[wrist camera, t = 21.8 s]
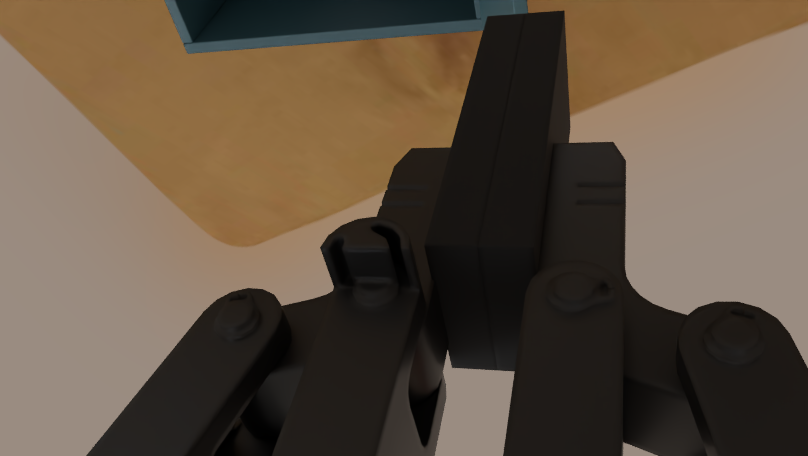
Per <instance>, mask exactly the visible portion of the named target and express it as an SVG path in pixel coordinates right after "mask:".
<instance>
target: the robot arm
mask: <svg viewBox="0 0 808 456" xmlns="http://www.w3.org/2000/svg"><path fill="white" fill-rule="evenodd" d="M569 134H570V112H569V92H568V73H567V54H566V34H565V15H564V11H553V12H539V13H525V14H510V15H496V16H487V19H486V23H485V26H484V30H483V34H482V37H481V41H480V45H479V48H478V52H477V56H476V59H475V63H474V66H473V70H472V74H471V77H470V81H469V85H468V88H467V92H466V95H465V99H464V103H463V106H462V110H461V114H460V117H459V121H458V124H457V128H456V132H455V135H454V139H453V143H452V146H451V148H412V149H411V150H410V151H409V152H408V153H407V154H406V155H405V156H404V157H403V158H402V159H401V160H400V161H399V162H398V163H397V164H396V165H395V166H394V169H393V172H392V175H391V177H390V180H389V183H388V186H387V187H388V190H386V192H385V195H384V197H383V200H382V206H381V207H380V209H379V212H378V214H377V217H370V218H362V219H357V220H354V221H352V222H349V223H347V224H344V225H342V226H340V227H339V228H338V229H336V230H335V231H334V232H333V233H331V234H330V235H328V237H327V238H326V240H325V241H324V243H323V244H322V246H321V247H320V248H321V251H322V254H323V257H324V259H325V262H326V265H327V268H328V271H329V274H330V277H331V279H332V282H333V285H334V289H333V291H332V292H330V293H328V294H327V295H324V296H321V297H318V298H315V299H310V300H306V301H302V302H298V303H293V304H289V305H284V306H281V304H280V303H279V301H278V300H277V298H276V297H275V295H274V294H272V293H270V292H267V291H265V290H263V289H252V288H247V289H242V290H238V291H234V292H231V293H229V294H227V295H225V296H223V297H221V298H219V299H217V300H216V301H215V302H214V303H213V304H211V305H210V307H208V308H207V309H206V310H205V311H204V312H203V313H202V315H201V316H200V317H199V318H198V319H197V321H196V322H195V323H194V324H193V326H192V327H191V328H190V329H189V330H188V332H187V333H186V334H185V335H184V337H183V338H182V339H181V340H180V342H179V343H178V344H177V345H176V346H175V348H174V349H173V350H172V351H171V353H170V354H169V355H168V356H167V358H166V359H165V360H164V361H163V362H162V364H161V365H160V366H159V367H158V368H157V370H156V371H155V372H154V374H153V375H152V376H151V377H150V378H149V379H148V381H147V382H146V383H145V384H144V386H143V387H142V388H141V389H140V391H139V392H138V393H137V394H136V395H135V397H134V398H133V399H132V400H131V402H130V403H129V404H128V405H127V406H126V408H125V409H124V410H123V411H122V413H121V414H120V415H119V416H118V418H117V419H116V420H115V421H114V422H113V424H112V425H111V426H110V427H109V429H108V430H107V431H106V432H105V433H104V435H103V436H102V437H101V438H100V440H99V441H98V442H97V443H96V444H95V446H94V447H93V448H92V450H91V451H90V452H89V453H88V454H87V456H434V455H435V451H436V446H437V440H438V435H439V430H440V426H441V421H442V416H443V411H444V406H445V401H446V384H445V380H444V376H443V368H444V363H445V359H446V354H447V350H448V351H449V356H450V360H451V365H452V368H468V369H485V370H502V371H515V374H514V381H513V388H512V396H511V403H510V410H509V417H508V425H507V433H506V439H505V447H504V454H503V456H623V442H624V443H627V444H630V445H632V446H635V447H638V448H640V449H643V450H645V451H648V452H650V453H653V454H655V455H658V456H808V368H807V366H806V364H805V362H804V360H803V358H802V356H801V355H800V353H799V351H798V349H797V347H796V345H795V343H794V341H793V339H792V337H791V335H790V333H789V332H788V331H787V330H786V329H785V327H784V326H783V325H782V324H781V322H780V321H779V320H778V319H777V318H776V317H774V316H772V315H771V314H769V313H767V312H766V311H764V310H762V309H761V308H759V307H755V306H752V305H748V304H744V303H741V302H714V303H711V304H707V305H704V306H701V307H698V308H697V309H695V310H694V311H693V312H691V313H690V314H689V315H685V314H681V313H678V312H674V311H671V310H668V309H665V308H663V307H660V306H657V305H655V304H652V303H651V302H649V301H648V300H646V299H645V298H643V297H642V296H640V295H639V294H638V293H637V292H636V291H635V289H633V287H632V286H631V284H630V282H629V281H628V279H627V277H626V272H625V216H626V214H625V212H626V210H625V209H626V160H625V159H624V157H623V156H622V155H621V153H620V151H619V150H618V149H617V147H616V146H615V144H614V143H613V142H592V143H569Z"/></svg>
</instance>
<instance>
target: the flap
mask: <svg viewBox="0 0 808 456" xmlns="http://www.w3.org/2000/svg"><path fill="white" fill-rule="evenodd" d="M479 7H480V13H481V20H482V27H483V30H484V26H485V23H486V19H487V16H496V15H510V14H525V13H528V6H527V0H479Z"/></svg>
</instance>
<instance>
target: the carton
mask: <svg viewBox="0 0 808 456" xmlns="http://www.w3.org/2000/svg"><path fill="white" fill-rule="evenodd" d="M165 3H166V5H167V7H168V10H169V12H170V14H171V17H172V19H173V21H174V24H175V26H176V28H177V31H178V33H179V35H180V37H181V40H182V42H183V43H184V47H185V49H186V51H187V53H188V54H191V53H203V52H216V51H229V50H241V49H254V48H267V47H279V46H292V45H304V44H317V43H330V42H342V41H355V40H368V39H380V38H393V37H405V36H418V35H431V34H443V33H456V32H469V31H481V30H483V27H482V20H481V13H480V7H479V0H165Z"/></svg>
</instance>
